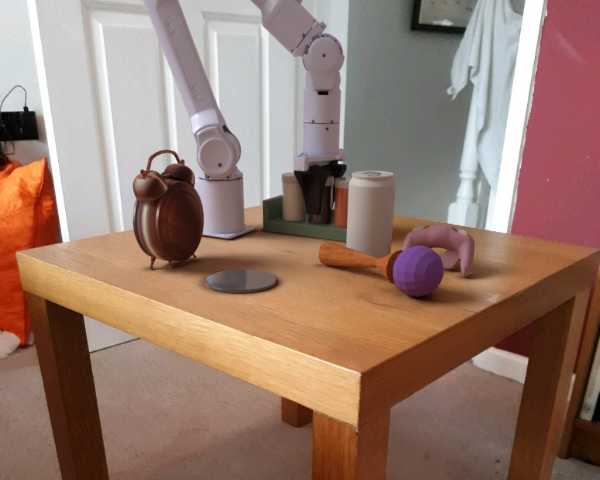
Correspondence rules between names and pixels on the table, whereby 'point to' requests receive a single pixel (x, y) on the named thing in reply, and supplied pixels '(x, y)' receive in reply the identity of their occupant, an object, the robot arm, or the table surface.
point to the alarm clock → (167, 212)
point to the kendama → (393, 266)
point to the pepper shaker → (325, 205)
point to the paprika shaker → (341, 201)
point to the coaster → (240, 281)
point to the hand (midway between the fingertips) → (319, 211)
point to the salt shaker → (292, 199)
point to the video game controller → (445, 244)
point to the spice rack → (298, 223)
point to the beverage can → (371, 212)
